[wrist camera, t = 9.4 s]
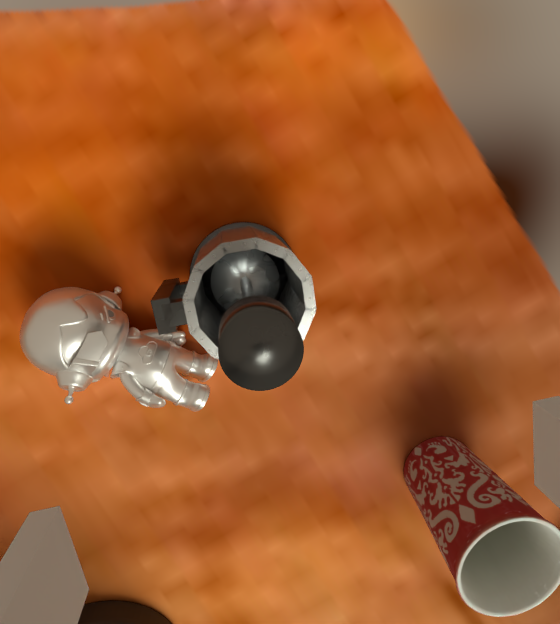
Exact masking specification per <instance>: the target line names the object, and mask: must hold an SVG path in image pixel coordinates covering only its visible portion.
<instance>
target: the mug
mask: <svg viewBox="0 0 560 624" xmlns="http://www.w3.org/2000/svg"><path fill="white" fill-rule="evenodd" d="M404 477H405V481H406V484H407V486H408V488H409V490H410V492H411V494H412V496H413V498H414V499H415V501H416V503H417V505H418V507H419V509H420V511H421V513H422V515H423V517H424V519H425V521H426V523H427V525H428V527H429V529H430V531H431V533H432V535H433V537H434V539H435V541H436V543H437V545H438V547H439V549H440V551H441V553H442V555H443V557H444V559H445V561H446V563H447V565H448V567H449V569H450V571H451V573H452V575H453V577H454V579H455V581H456V587H457V590H458V593H459V595H460V597H461V598H462V600H463V601H464V602H465V603H466V604H467V605H468V606H469V607H470V608H472V609H473V610H475V611H476V612H479V613H481V614H484V615H488V616H494V617H506V616H512V615H517V614H520V613H523V612H525V611H527V610H530V609H532V608H534V607H535V606H537V605H539V604H540V603H542V602H543V601H544V600H545V599H546V598H548V597H549V596H550V595H551V594H552V593H553V592H554V590H555V589H556V588H557V587H558V585H559V584H560V530H559V529H558V528H557V527H556V526H555V525H554V524H552V523H551V522H549V521H547V520H545V519H544V518H543V517H542V516H541V515H540V514H539V513H537V512H536V511H535V510H534V509H533V508H532V507H531V506H530V505H529V504H528V503H527V502H526V501H525V500H523V499H522V498H521V497H520V496H519V495H518V494H517V493H516V492H515V491H514V490H512V489H511V488H510V487H509V486H508V485H507V484H506V483H505V482H504V481H503V480H502V479H501V478H500V477H499V476H498V475H497V474H496V473H494V472H493V471H492V470H491V469H490V468H489V467H488V466H487V465H485V464H484V463H483V462H482V461H481V460H480V459H479V458H478V457H477V456H476V455H475V454H474V453H473V452H472V451H470V450H469V449H468V448H467V447H466V446H465V445H464V444H463V443H461V442H460V441H458V440H456V439H454V438H451V437H443V436H441V437H434V438H431V439H428V440H426V441H424V442H422V443H421V444H419V445H418V446H416V447H415V448H414V449H413V450H412V452H411V453H410V454H409V456H408V458H407V460H406V462H405V466H404Z"/></svg>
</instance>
